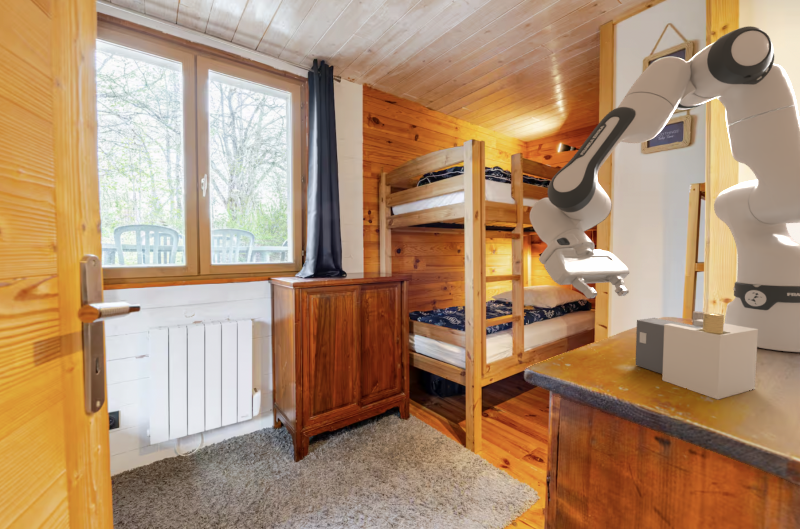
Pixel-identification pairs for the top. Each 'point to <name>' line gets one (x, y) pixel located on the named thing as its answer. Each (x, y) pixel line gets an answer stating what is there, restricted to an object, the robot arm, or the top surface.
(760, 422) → the top surface
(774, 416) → the top surface
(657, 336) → the cartridge
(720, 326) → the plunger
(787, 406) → the top surface
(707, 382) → the housing
